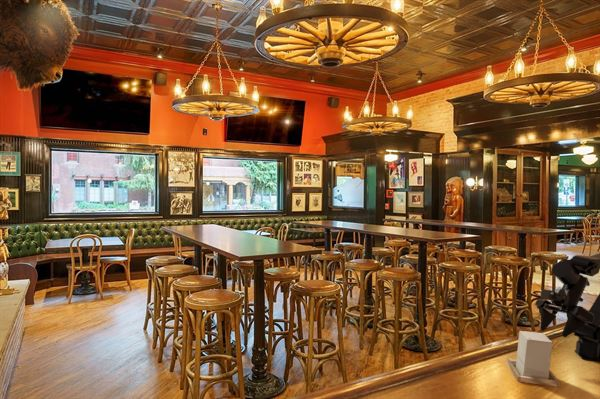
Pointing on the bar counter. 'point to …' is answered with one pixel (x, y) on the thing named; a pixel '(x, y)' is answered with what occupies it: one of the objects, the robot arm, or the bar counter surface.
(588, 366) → the bar counter surface
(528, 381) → the tray rim
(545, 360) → the supplement box
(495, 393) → the bar counter surface
